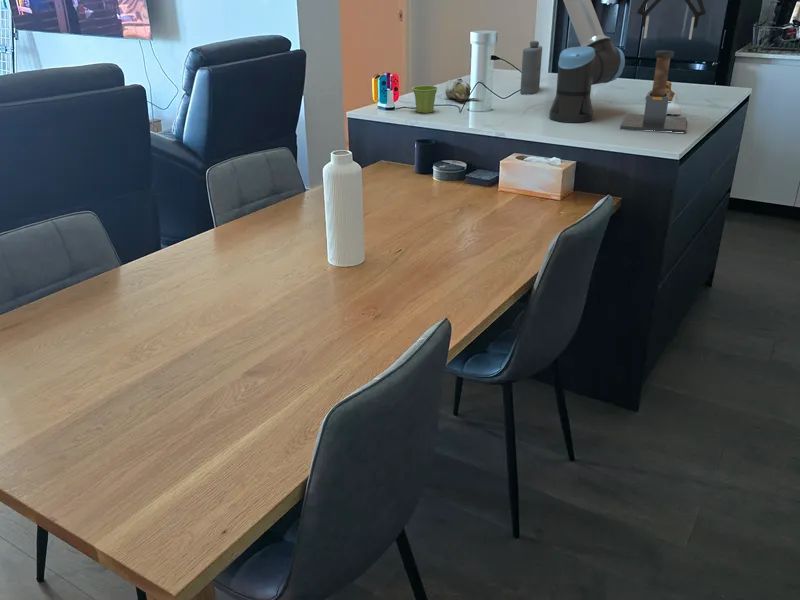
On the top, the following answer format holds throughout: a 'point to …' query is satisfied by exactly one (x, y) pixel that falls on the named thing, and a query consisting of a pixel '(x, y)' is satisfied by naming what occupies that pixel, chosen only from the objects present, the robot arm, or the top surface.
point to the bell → (668, 91)
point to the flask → (531, 68)
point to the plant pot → (425, 98)
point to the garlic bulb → (674, 106)
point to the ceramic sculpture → (457, 90)
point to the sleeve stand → (654, 117)
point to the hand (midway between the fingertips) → (667, 38)
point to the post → (661, 72)
